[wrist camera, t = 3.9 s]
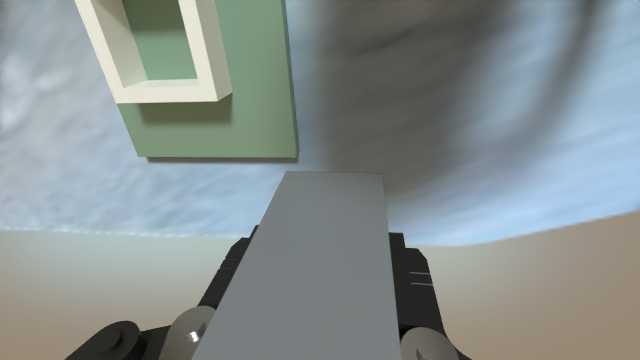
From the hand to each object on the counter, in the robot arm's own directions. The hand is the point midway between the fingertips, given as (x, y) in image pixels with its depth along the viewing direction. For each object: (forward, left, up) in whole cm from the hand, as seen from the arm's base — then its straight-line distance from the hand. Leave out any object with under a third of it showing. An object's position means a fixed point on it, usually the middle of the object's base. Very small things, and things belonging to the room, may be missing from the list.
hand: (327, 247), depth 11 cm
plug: (0, 0, -2) cm, 2 cm away
